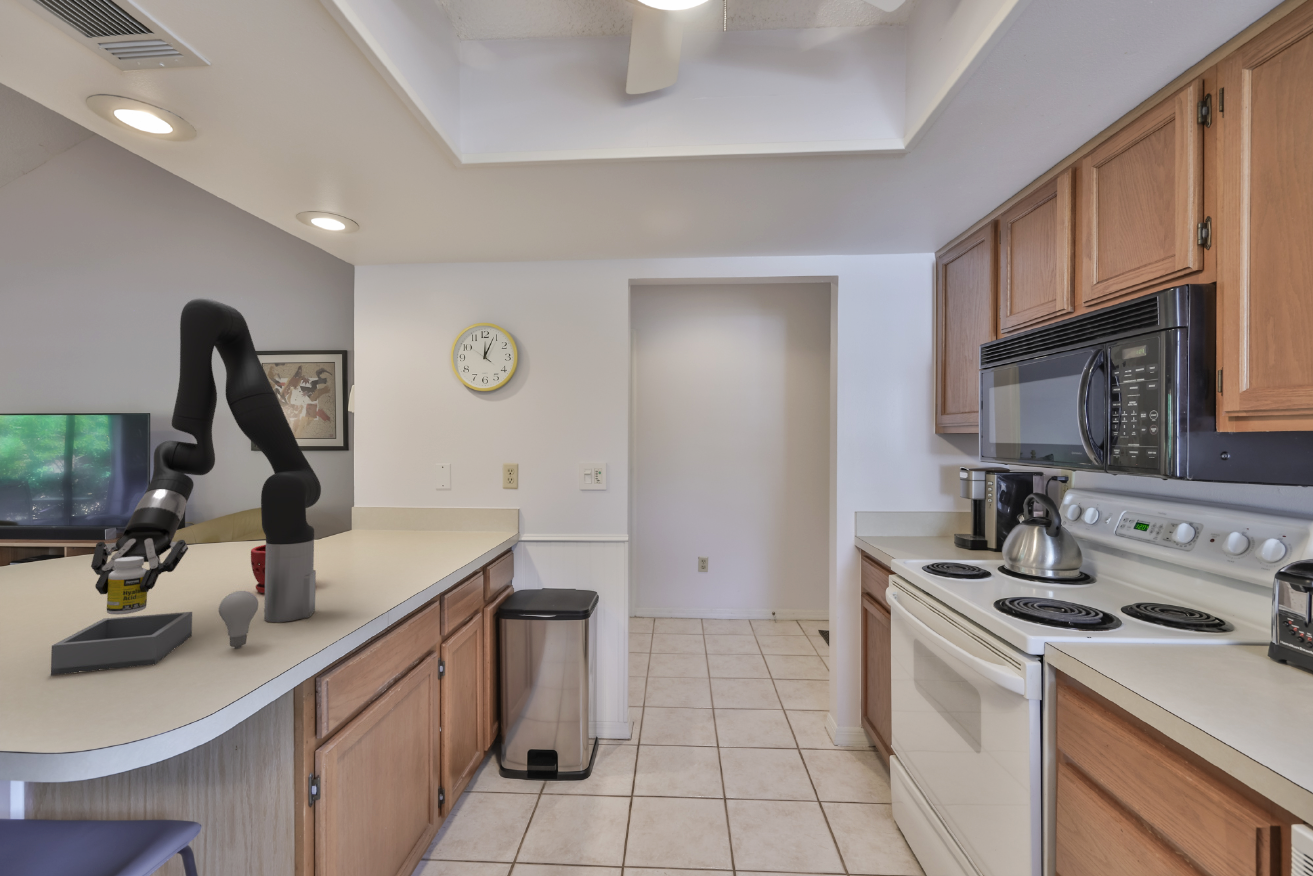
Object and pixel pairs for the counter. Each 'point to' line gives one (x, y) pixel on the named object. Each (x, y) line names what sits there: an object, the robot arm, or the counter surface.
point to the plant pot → (259, 566)
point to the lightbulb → (238, 615)
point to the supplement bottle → (126, 586)
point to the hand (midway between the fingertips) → (123, 590)
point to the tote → (121, 642)
